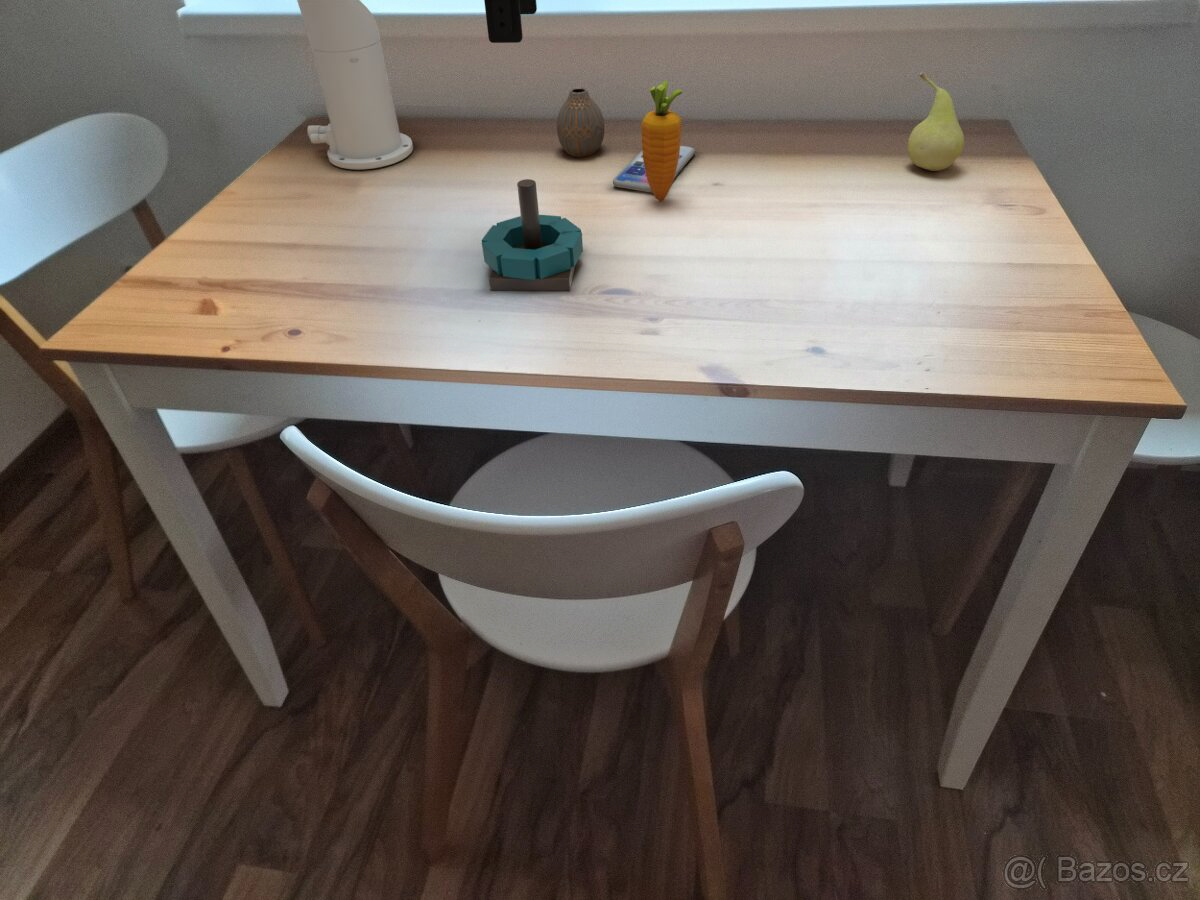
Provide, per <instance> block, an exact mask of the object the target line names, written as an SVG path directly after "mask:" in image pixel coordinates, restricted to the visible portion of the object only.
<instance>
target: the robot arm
mask: <svg viewBox="0 0 1200 900" xmlns="http://www.w3.org/2000/svg"><path fill="white" fill-rule="evenodd" d="M296 2H297V3H298V4H297V6H298V8H299V11H300V14H301V18H302V21H303V24H304V28H305V32H306V35H307V39H308V43H309V46H310V50H311V55H312V57H313V62H314V66H315V70H316V73H317V77H318V81H319V84H320V89H321V93H322V96H323V100H324V104H325V107H326V112H327V116H328V120H329V123H328V124H327V125H318V124H317V125H316V124H315V125H308V126H307V129H306V130H307V136H308V138H309V140H310V142H311V144H326V145H327V146H329V147H328V149H327V151H326V155H327V158H328V161H329V162H330V164H332V165H334V166H336V167H338V168H341V169H347V170H372V169H379V168H383V167H387V166H390V165H393V164H396V163H399V162H401V161H403V160H404V159H406V158H408V157H409V156H410V155H411V154H412V152H413V150H414V144H413V140H412V138H411V137H410V136H408V135H407V134H404V133H402V132H400V127H399V123H398V118H397V113H396V109H395V103H394V99H393V94H392V89H391V85H390V79H389V75H388V70H387V65H386V59H385V55H384V49H383V46H382V45H383V44H382V40H381V35H380V30H379V26H378V23H377V20H376V18H375V17H374V15H373V13H372V12H371V11H370V10H369V8H368V7H367V6H366V5H365V4H364V3H363V2H362V1H361V0H296ZM537 5H538V4H537V0H484V9H485V10H484V11H485V19H486V28H487V36H488V41H489V42H490V43H492V44H512V43H514V44H519V43H521V42H522V41H523V26H522V25H523V24H522V15H535V14H536V13H537V10H538V6H537Z"/></svg>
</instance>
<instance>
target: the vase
mask: <svg viewBox="0 0 1200 900" xmlns="http://www.w3.org/2000/svg"><path fill="white" fill-rule="evenodd" d="M556 133H557V138H558V142H559V144H560V146H561V147H562V149H563V150H564V151H565V152H566V153H567V154H568V155H569V156H572V157H575V158H576V157H577V158H585V157H590V156H592V155H594V154H595V153H597V151H598V150H599V149H600V148H601V146H602V144H603V141H604V137H605V119H604V116H603V113H602V110H601V108H600V107H599V106H598V104H597V103H596V102H595V100H594V99H593V98H592V97H591V95H590V93H589V91H588V89H587V88H585V87H573V88H571V89H570V90H569V93H568V96H567V97H566V99H565V101H564V102H563V104H562V106H561V107H560V109H559V111H558V115H557V119H556Z"/></svg>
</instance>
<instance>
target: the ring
mask: <svg viewBox="0 0 1200 900" xmlns="http://www.w3.org/2000/svg"><path fill="white" fill-rule="evenodd" d="M539 221H540V231H541V241H542V243H549V244H551V245H548V246H545V247H542V248H539V249H535V250H532V249H520V248H513V247H517V246H520V245H523V244H524V240H523V231H522V222H521V215H519V216H516V217H512V218H509V219H505V220H502V221H498V222H496V225H494V224H493V225H491V227H490V228H489V229H488V231H486V233H485V235H484V236H483V237H482V239H481V247H482V253H483V260H484V263H485V264H486V265H487V266H488V267H489V268H490V269H491V270H492V269H493V270H494V271H495V272H496V273H497V274H498V275H501V274H503V277H509V278H520V279H531V280H536V278H537V276H538V277H539V278H540V279H543V278H546V277H549V276H552V275H555V274H558V273H561V272H564V271H567V270H570V269H571V267H575V268H576V265H577V263H578V261H579V260H580V257H581V256H582V253H583V252H584V247H583V246H584V245H583V244H584V243H583V232H582V229H581V228H580V227H579V226H577V225H576V224H574V223H573V222H572V221H570V220H569V219H568V218H567V217H562V216H561V215H549V214H539Z"/></svg>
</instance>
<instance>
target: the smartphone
mask: <svg viewBox="0 0 1200 900" xmlns="http://www.w3.org/2000/svg"><path fill="white" fill-rule="evenodd" d="M695 154H696V149H695V148H694V147H692V146H687V145H681V144H680V154H679V159H678V165H677V169H676V173H675V177H676V176H677V175H678V174H679V173H680V172H681V171H682V169H683V168H684V167H685V166H686V165H687V164H688V162H689V161H690V160H691V159H692V158H693V156H694V155H695ZM612 184H613V185H614V187H617V188H620V189H628V190H634V191H640V192H646V193H652V194H653V192H652V190H651V188H650V186H649V183H648V180H647V176H646V172H645V167H644V161H643V152H642V150H641V151H640V152H638V154H637V155H636V156H635V157H633V159H631V161H630V162H629V163H628V164H627V165H626V166H625V167H624V168H623V169H622V170H621V171H620V172H619V173H618V174H617V175H616V176H615V177H614V178H613V180H612Z"/></svg>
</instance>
